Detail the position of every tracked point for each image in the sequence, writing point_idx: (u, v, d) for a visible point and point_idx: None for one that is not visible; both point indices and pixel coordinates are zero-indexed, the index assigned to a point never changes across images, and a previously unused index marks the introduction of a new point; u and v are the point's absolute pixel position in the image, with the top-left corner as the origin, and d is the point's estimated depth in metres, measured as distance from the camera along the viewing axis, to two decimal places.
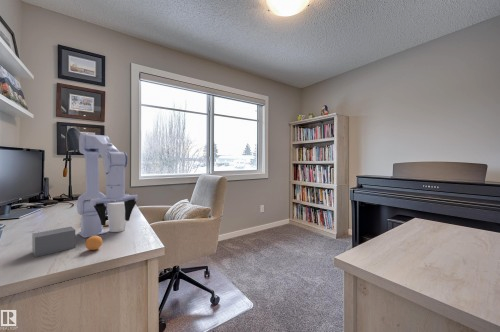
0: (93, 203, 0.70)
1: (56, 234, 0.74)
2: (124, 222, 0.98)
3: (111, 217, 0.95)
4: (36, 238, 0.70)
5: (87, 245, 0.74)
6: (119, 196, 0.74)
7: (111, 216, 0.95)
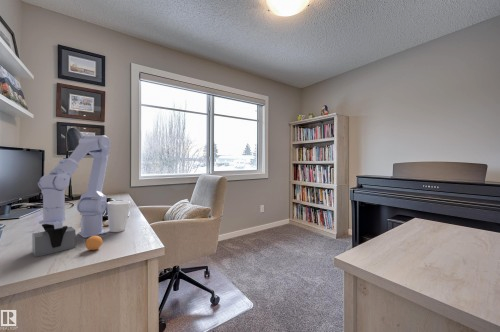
0: None
1: None
2: (124, 222, 0.98)
3: (111, 217, 0.95)
4: (36, 238, 0.70)
5: (87, 245, 0.74)
6: (43, 219, 0.74)
7: (111, 216, 0.95)
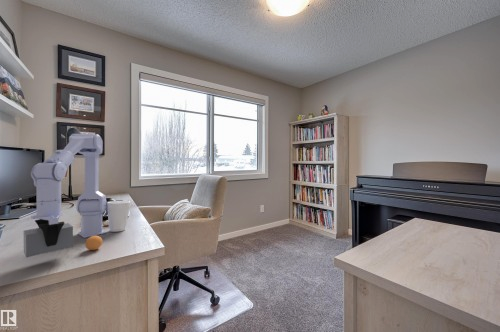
0: None
1: None
2: (124, 222, 0.98)
3: (111, 216, 0.95)
4: (27, 236, 0.61)
5: (87, 245, 0.74)
6: None
7: (111, 215, 0.95)
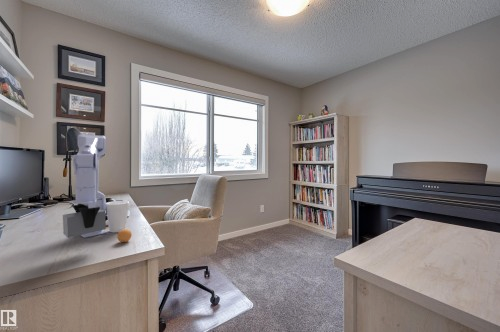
0: None
1: None
2: (124, 222, 0.98)
3: (111, 217, 0.95)
4: (68, 218, 0.68)
5: (129, 239, 0.85)
6: (76, 199, 0.72)
7: (110, 216, 0.95)
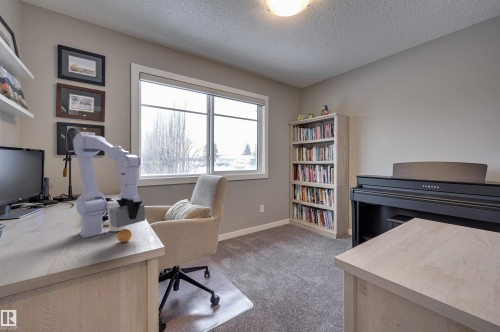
0: None
1: None
2: None
3: None
4: (116, 211, 0.79)
5: (129, 239, 0.85)
6: (121, 194, 0.83)
7: None
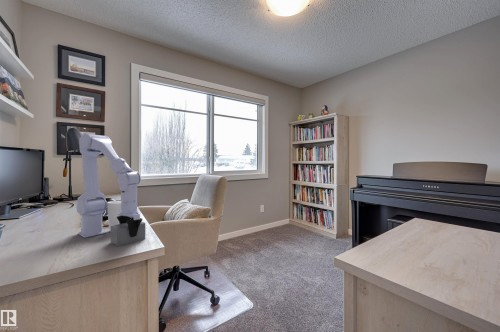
0: (120, 212, 0.89)
1: None
2: None
3: (111, 216, 0.95)
4: (118, 229, 0.80)
5: None
6: (121, 212, 0.83)
7: (111, 215, 0.95)
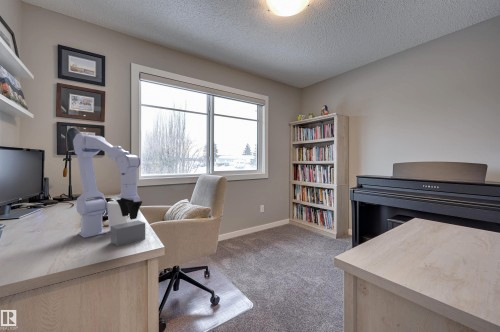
0: None
1: (132, 226, 0.84)
2: (124, 222, 0.98)
3: (111, 217, 0.95)
4: (118, 229, 0.80)
5: None
6: (121, 194, 0.83)
7: (111, 216, 0.95)
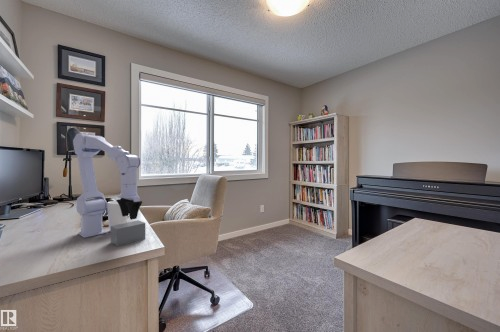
0: None
1: (132, 226, 0.84)
2: (124, 222, 0.98)
3: (111, 217, 0.95)
4: (118, 229, 0.80)
5: None
6: (121, 194, 0.83)
7: (111, 216, 0.95)
